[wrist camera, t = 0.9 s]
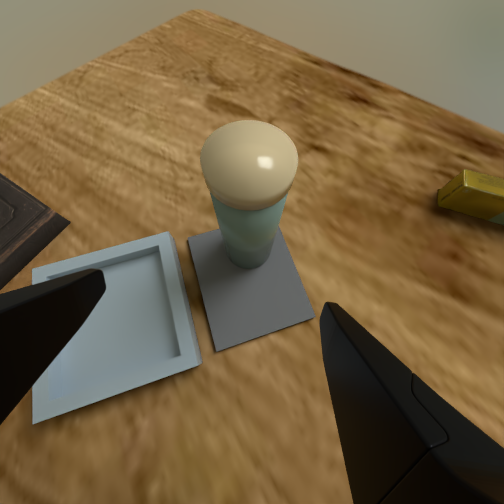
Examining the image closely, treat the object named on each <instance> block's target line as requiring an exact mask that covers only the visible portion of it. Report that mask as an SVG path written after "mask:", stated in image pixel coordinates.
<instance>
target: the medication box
mask: <svg viewBox="0 0 504 504" xmlns="http://www.w3.org/2000/svg"><path fill="white" fill-rule="evenodd" d="M438 206H439V207H443V208H446V209H450V210H453V211H456V212H460V213H463V214H467V215H470V216H474V217H477V218H481V219H484V220H487V221H491V222H494V223H498V224H501V225H504V179H501V178H498V177H494V176H490V175H486V174H482V173H478V172H474V171H470V170H467V169H465V170H463V171H462V172H461V173H460V174H458V175H457V176H456V177H455V178H453V179H452V180H451V181H450V182H448V183H447V184H446V185H445V186H444V187H443V188H441V189H438Z"/></svg>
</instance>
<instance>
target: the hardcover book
mask: <svg viewBox="0 0 504 504" xmlns="http://www.w3.org/2000/svg"><path fill="white" fill-rule="evenodd" d="M70 223H71V222H70V221H68V220H67V219H65V218H64V217H62V216H61V215H59V214H58V213H56V212H55V211H54V210H52V209H51V208H49V207H48V206H46V205H45V204H44V203H42V202H41V201H39V200H38V199H36V198H35V197H34V196H32V195H31V194H29V193H28V192H26V191H25V190H24V189H22V188H21V187H19V186H18V185H16V184H15V183H14V182H12V181H11V180H9V179H8V178H6V177H5V176H4V175H2V174H1V173H0V290H1V289H2V288H3V287H4V286H5V285H6V284H7V283H8V282H9V281H10V280H11V279H12V278H13V277H15V276H16V275H17V274H18V273H19V272H20V271H21V270H22V269H23V268H24V267H25V266H26V265H27V264H28V263H29V262H30V261H31V260H32V259H33V258H34V257H35V256H36V255H38V254H39V253H40V252H41V251H42V250H43V249H44V248H45V247H46V246H47V245H48V244H49V243H50V242H51V241H52V240H53V239H54V238H55V237H56V236H57V235H58V234H59V233H61V232H62V231H63V230H64V229H65V228H66V227H67V226H68V225H69V224H70Z"/></svg>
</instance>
